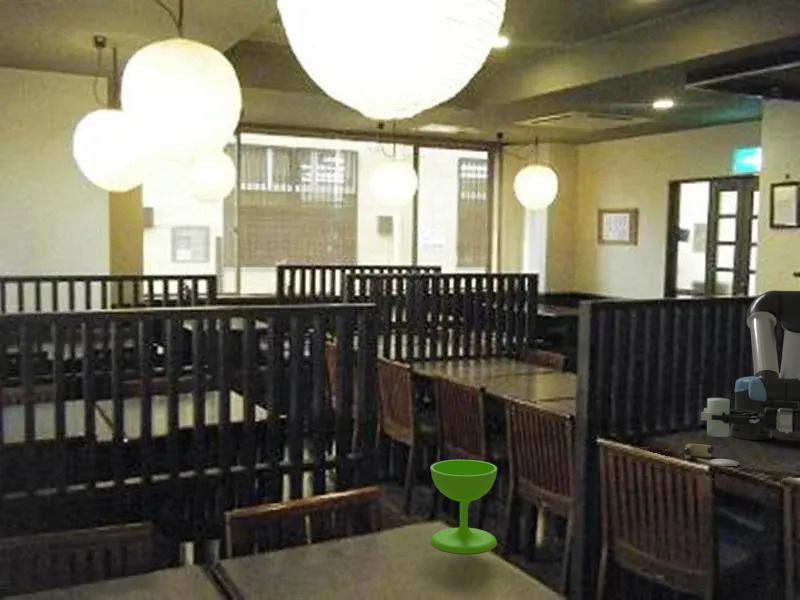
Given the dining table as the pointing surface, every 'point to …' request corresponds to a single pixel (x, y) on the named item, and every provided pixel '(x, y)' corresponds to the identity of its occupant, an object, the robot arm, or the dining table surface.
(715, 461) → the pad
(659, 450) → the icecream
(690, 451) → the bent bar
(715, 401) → the tall sage cylinder
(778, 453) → the dining table surface
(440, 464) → the wineglass
